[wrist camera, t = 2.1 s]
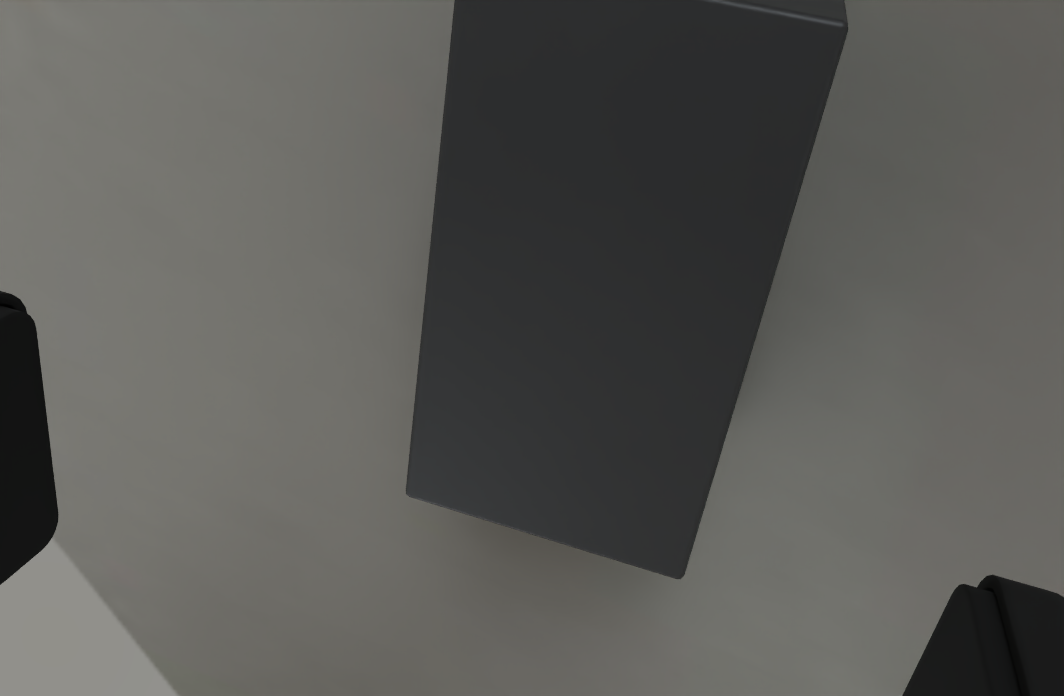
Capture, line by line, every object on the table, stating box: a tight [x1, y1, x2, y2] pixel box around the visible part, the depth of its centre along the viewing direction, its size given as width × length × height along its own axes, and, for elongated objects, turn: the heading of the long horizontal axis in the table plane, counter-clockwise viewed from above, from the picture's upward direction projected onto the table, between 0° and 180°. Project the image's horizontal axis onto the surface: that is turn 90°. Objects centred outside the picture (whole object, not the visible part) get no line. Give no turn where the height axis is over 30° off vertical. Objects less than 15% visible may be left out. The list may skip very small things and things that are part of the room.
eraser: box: [406, 0, 848, 579], centre depth 16 cm, size 9×5×5 cm, turn 171°
